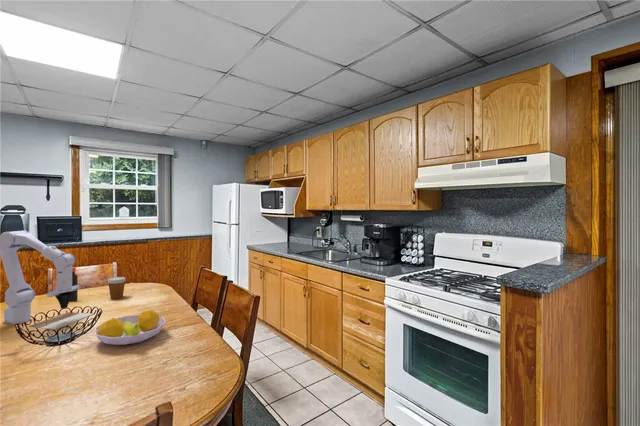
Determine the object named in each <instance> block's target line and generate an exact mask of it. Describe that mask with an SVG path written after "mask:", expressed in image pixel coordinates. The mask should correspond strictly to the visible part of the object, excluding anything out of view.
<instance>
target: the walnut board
mask: <svg viewBox="0 0 640 426" xmlns="http://www.w3.org/2000/svg"><path fill="white" fill-rule="evenodd" d="M77 314H80V312H72V313H71V311H68V312H65V313H62V314H59V315H56V316H53V317H49V318H48V319H44V320H41V321H38V322H35V323H33V324H30V325H27V326H26V327H27V328H37V329H42V327H44V326H47V325H50V324H53V323H55V322H58V321H61V320H64V319H66V318H69V317H72V316H75V315H77ZM46 320H47V324H46Z"/></svg>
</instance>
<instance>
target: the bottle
mask: <svg viewBox="0 0 640 426" xmlns="http://www.w3.org/2000/svg"><path fill="white" fill-rule="evenodd" d="M78 279H79V278H78V275H77V274H76V267H75V266H72V286H76V285H78V281H79V280H78ZM78 291H79V290H74V291H71V292H73V295H72V297H71V299H70V301H69V303H70V302H74V303H76V302H78V299H79V297H78Z"/></svg>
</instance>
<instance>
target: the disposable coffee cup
mask: <svg viewBox="0 0 640 426" xmlns="http://www.w3.org/2000/svg"><path fill="white" fill-rule="evenodd" d="M126 281H127V278H126V277H125V276H114V277H109V278H108V279H107V284H108V289H109V296H110V297H109V298H110V300H119V299H122V298H123V297H124V292H125V285H126Z"/></svg>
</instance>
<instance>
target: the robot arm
mask: <svg viewBox="0 0 640 426" xmlns="http://www.w3.org/2000/svg"><path fill="white" fill-rule="evenodd" d="M24 245H26V246H28V247H31V248H32V249H34V250H36V251H38V252H41V254H40V255H41V256H42V257H44V258H45V259H47V260H49V261H50V262H53V265H54V267H55V271H56V289H54V290H52V291H49V292H47V293H46V297H47V298H53V297H55V298H56V300H57V301H58V303H59V306H60V309H62V310H63V309H64V310H65V309H67V308H68V307H69V303H70V302H71V301H70V299H71V297H72V295H73V292H71V291H74V290H78V291H79V290H81V285H76V286H72V267H73V265H74V264H75V263H76V257H75V256H74V254H72V253H66V252H65V251H62V250H60V249H59V248H57V246H55V245H46V244H45V243H44V242H42V241H40V240H39V239H38V238H36V237H35V236H33V234H32V232H29V231H27V230H16V231H15V230H13V231H4V232H2V233H1V234H0V258H1V262H2V265H3V269H4V272H5V277H6V278H7V283H8V286H9V287H8V288H7V289H6V291H5V292H4V295H5V297H4V302H5V304H6V305H7V306H6V307H5V309H4V310H3V322H4V323H8V324H12V325H13V324H14V325H16V324H23V323H27V322H30V321H31V318H32V316H31V315H32V311H31V310H32V306H31V305H32V303H33V301H34V299H35V298H36V292H35V291H34V289H33V287H32V286H31V285H30V283H27V282H26V281H25V278H24V274H23V271H22V270H23V269H22V267H21V263H20V260H19V257H18V253H17V251H18V250H19V249H20V248H21V247H23V246H24ZM69 301H70V302H69Z"/></svg>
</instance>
